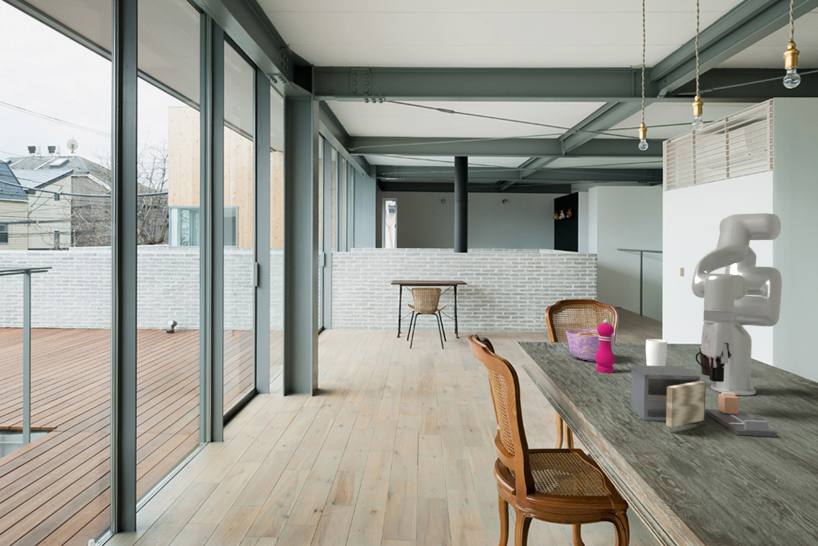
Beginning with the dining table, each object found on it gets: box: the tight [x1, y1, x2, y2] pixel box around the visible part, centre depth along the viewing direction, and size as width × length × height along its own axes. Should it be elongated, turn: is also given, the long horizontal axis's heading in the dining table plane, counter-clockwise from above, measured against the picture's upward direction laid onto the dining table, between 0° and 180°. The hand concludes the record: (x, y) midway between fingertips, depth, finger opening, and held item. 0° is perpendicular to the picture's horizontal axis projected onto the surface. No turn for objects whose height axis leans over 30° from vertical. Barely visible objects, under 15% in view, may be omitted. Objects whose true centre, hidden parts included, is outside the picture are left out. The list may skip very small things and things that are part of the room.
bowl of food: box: [565, 328, 616, 362], centre depth 221 cm, size 20×20×12 cm
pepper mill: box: [594, 318, 616, 374], centre depth 199 cm, size 7×7×20 cm
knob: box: [717, 392, 740, 414], centre depth 143 cm, size 4×4×5 cm
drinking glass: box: [645, 338, 668, 366], centre depth 181 cm, size 7×7×15 cm
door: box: [665, 380, 707, 429], centre depth 134 cm, size 14×2×12 cm, turn 118°
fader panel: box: [705, 408, 778, 438], centre depth 137 cm, size 9×18×4 cm, turn 173°
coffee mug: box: [695, 345, 712, 377], centre depth 194 cm, size 12×9×10 cm
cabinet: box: [630, 364, 701, 424], centre depth 145 cm, size 14×12×12 cm
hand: (716, 380), depth 149 cm, fingers closed
